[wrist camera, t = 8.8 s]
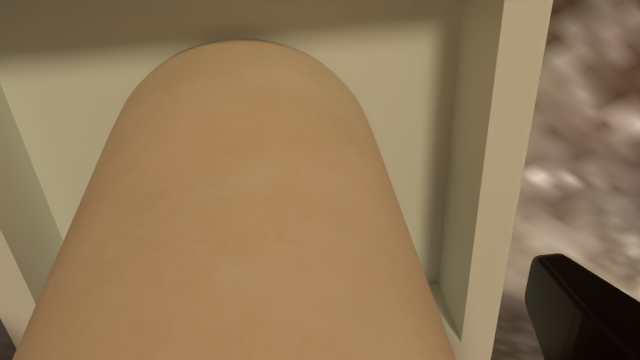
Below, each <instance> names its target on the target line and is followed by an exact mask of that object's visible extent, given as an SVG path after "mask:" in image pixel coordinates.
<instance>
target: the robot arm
mask: <svg viewBox="0 0 640 360" xmlns="http://www.w3.org/2000/svg"><path fill="white" fill-rule="evenodd" d="M525 304H526V308H527V311H528V314H529V317H530V320H531V323H532V326H533V328H534V331H535V334H536V337H537V340H538V343H539V345H540V348H541V351H542V354H543V357H544V360H640V302H639V301H637V300H635V299H634V298H632V297H631V296H629V295H627V294H626V293H624V292H623V291H621V290H619V289H618V288H616V287H615V286H613V285H611V284H610V283H608V282H607V281H605V280H603V279H602V278H600V277H599V276H597V275H595V274H594V273H592V272H591V271H589V270H587V269H586V268H584V267H583V266H581V265H579V264H578V263H576V262H575V261H573V260H571V259H570V258H568V257H567V256H565V255H563V254H557V253H556V254H547V255H539V256H536V257H535V258H534V259H533V260H532V263H531V267H530V271H529V276H528V281H527V286H526V291H525Z"/></svg>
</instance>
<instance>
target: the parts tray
mask: <svg viewBox="0 0 640 360" xmlns="http://www.w3.org/2000/svg"><path fill="white" fill-rule="evenodd" d="M552 3H553V0H0V319H1V320H2V322H3V324H4V326H5V328H6V330H7V332H8V334H9V336H10V337H11V339H12V341H13V343H14V345H15V347H16V349H17V348H18V345H19V343H20V341H21V338H22V336H23V334H24V331H25V329H26V327H27V324H28V322H29V320H30V317H31V315H32V313H33V310H34V308H35V306H36V304H37V301H38V299H39V297H40V294H41V292H42V290H43V287H44V285H45V283H46V280H47V278H48V276H49V273H50V271H51V269H52V266H53V264H54V262H55V259H56V257H57V255H58V252H59V250H60V248H61V246H62V243H63V241H64V239H65V236H66V234H67V232H68V229H69V227H70V225H71V222H72V220H73V218H74V215H75V213H76V211H77V208H78V206H79V204H80V201H81V199H82V197H83V194H84V192H85V190H86V188H87V185H88V183H89V181H90V178H91V176H92V174H93V171H94V169H95V167H96V164H97V162H98V160H99V157H100V155H101V153H102V150H103V148H104V146H105V143H106V141H107V139H108V136H109V134H110V132H111V130H112V128H113V126H114V124H115V122H116V119H117V117H118V115H119V113H120V111H121V109H122V108H123V106H124V104H125V102H126V100H127V98H128V97H129V96H130V94H131V93H132V92H133V90H134V89H135V88H136V86H137V85H138V84H139V83H140V82H141V81H142V80H143V79H144V78H145V77H146V76H147V75H148V74H149V73H150V72H151V71H152V70H153V69H154V68H156V67H157V66H159V65H160V64H161V63H163V62H164V61H166V60H167V59H168V58H170V57H172V56H174V55H176V54H178V53H180V52H182V51H184V50H186V49H189V48H192V47H194V46H197V45H200V44H203V43H208V42H212V41H217V40H225V39H236V38H241V39H259V40H265V41H271V42H276V43H279V44H283V45H286V46H289V47H292V48H295V49H297V50H299V51H301V52H304V53H306V54H308V55H310V56H311V57H313V58H315V59H316V60H318V61H320V62H321V63H323V64H324V65H325V66H326V67H328V68H329V69H330V70H331V71H333V72H334V73H335V74H336V75H337V76H338V77H339V78H340V79H341V80H342V81H343V82H344V84H345V85H346V86H347V87H348V88H349V89H350V90H351V92H352V93H353V95H354V96H355V98H356V99H357V100H358V102H359V103H360V105H361V107H362V109H363V111H364V113H365V115H366V117H367V120H368V122H369V124H370V127H371V129H372V132H373V134H374V137H375V139H376V142H377V145H378V148H379V150H380V153H381V156H382V158H383V161H384V164H385V167H386V169H387V172H388V175H389V178H390V180H391V183H392V186H393V189H394V191H395V194H396V197H397V200H398V202H399V205H400V208H401V211H402V213H403V216H404V219H405V222H406V224H407V227H408V230H409V232H410V235H411V238H412V241H413V243H414V246H415V249H416V252H417V254H418V257H419V260H420V263H421V265H422V268H423V271H424V274H425V276H426V279H427V282H428V285H429V287H430V290H431V293H432V296H433V298H434V301H435V304H436V306H437V309H438V312H439V315H440V317H441V320H442V323H443V326H444V328H445V331H446V334H447V337H448V339H449V342H450V345H451V348H452V350H453V353H454V356H455V359H456V360H491V354H492V348H493V343H494V337H495V331H496V325H497V320H498V314H499V308H500V302H501V297H502V291H503V285H504V279H505V274H506V268H507V262H508V256H509V251H510V245H511V239H512V233H513V228H514V222H515V216H516V210H517V205H518V199H519V193H520V187H521V182H522V176H523V170H524V164H525V159H526V153H527V147H528V141H529V136H530V130H531V124H532V118H533V113H534V107H535V101H536V95H537V90H538V84H539V78H540V72H541V67H542V61H543V55H544V49H545V44H546V38H547V32H548V26H549V21H550V15H551V9H552Z"/></svg>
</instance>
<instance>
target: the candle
mask: <svg viewBox="0 0 640 360" xmlns="http://www.w3.org/2000/svg"><path fill="white" fill-rule="evenodd" d="M12 360H456V359H455V356H454V353H453V350H452V348H451V345H450V342H449V339H448V337H447V334H446V331H445V328H444V326H443V323H442V320H441V317H440V315H439V312H438V309H437V306H436V304H435V301H434V298H433V296H432V293H431V290H430V287H429V285H428V282H427V279H426V276H425V274H424V271H423V268H422V265H421V263H420V260H419V257H418V254H417V252H416V249H415V246H414V243H413V241H412V238H411V235H410V232H409V230H408V227H407V224H406V222H405V219H404V216H403V213H402V211H401V208H400V205H399V202H398V200H397V197H396V194H395V191H394V189H393V186H392V183H391V180H390V178H389V175H388V172H387V169H386V167H385V164H384V161H383V158H382V156H381V153H380V150H379V148H378V145H377V142H376V139H375V137H374V134H373V132H372V129H371V127H370V124H369V122H368V120H367V117H366V115H365V113H364V111H363V109H362V107H361V105H360V103H359V102H358V100H357V99H356V98H355V96H354V95H353V93H352V92H351V90H350V89H349V88H348V87H347V86H346V85H345V84H344V82H343V81H342V80H341V79H340V78H339V77H338V76H337V75H336V74H335V73H334V72H333V71H331V70H330V69H329V68H328V67H326V66H325V65H324V64H323V63H321V62H320V61H318V60H316V59H315V58H313V57H311V56H310V55H308V54H306V53H304V52H301V51H299V50H297V49H295V48H292V47H289V46H286V45H283V44H279V43H276V42H271V41H265V40H259V39H241V38H236V39H225V40H217V41H212V42H208V43H203V44H200V45H197V46H194V47H192V48H189V49H186V50H184V51H182V52H180V53H178V54H176V55H174V56H172V57H170V58H168V59H167V60H166V61H164V62H163V63H161V64H160V65H159V66H157V67H156V68H154V69H153V70H152V71H151V72H150V73H149V74H148V75H147V76H146V77H145V78H144V79H143V80H142V81H141V82H140V83H139V84H138V85H137V86H136V88H135V89H134V90H133V92H132V93H131V94H130V96H129V97H128V98H127V100H126V102H125V104H124V106H123V108H122V109H121V111H120V113H119V115H118V117H117V119H116V122H115V124H114V126H113V128H112V130H111V132H110V134H109V136H108V139H107V141H106V143H105V146H104V148H103V150H102V153H101V155H100V157H99V160H98V162H97V164H96V167H95V169H94V171H93V174H92V176H91V178H90V181H89V183H88V185H87V188H86V190H85V192H84V194H83V197H82V199H81V201H80V204H79V206H78V208H77V211H76V213H75V215H74V218H73V220H72V222H71V225H70V227H69V229H68V232H67V234H66V236H65V239H64V241H63V243H62V246H61V248H60V250H59V252H58V255H57V257H56V259H55V262H54V264H53V266H52V269H51V271H50V273H49V276H48V278H47V280H46V283H45V285H44V287H43V290H42V292H41V294H40V297H39V299H38V301H37V304H36V306H35V308H34V310H33V313H32V315H31V317H30V320H29V322H28V324H27V327H26V329H25V331H24V334H23V336H22V338H21V341H20V343H19V345H18V348H17V350H16V352H15V355H14V357H13V359H12Z"/></svg>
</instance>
